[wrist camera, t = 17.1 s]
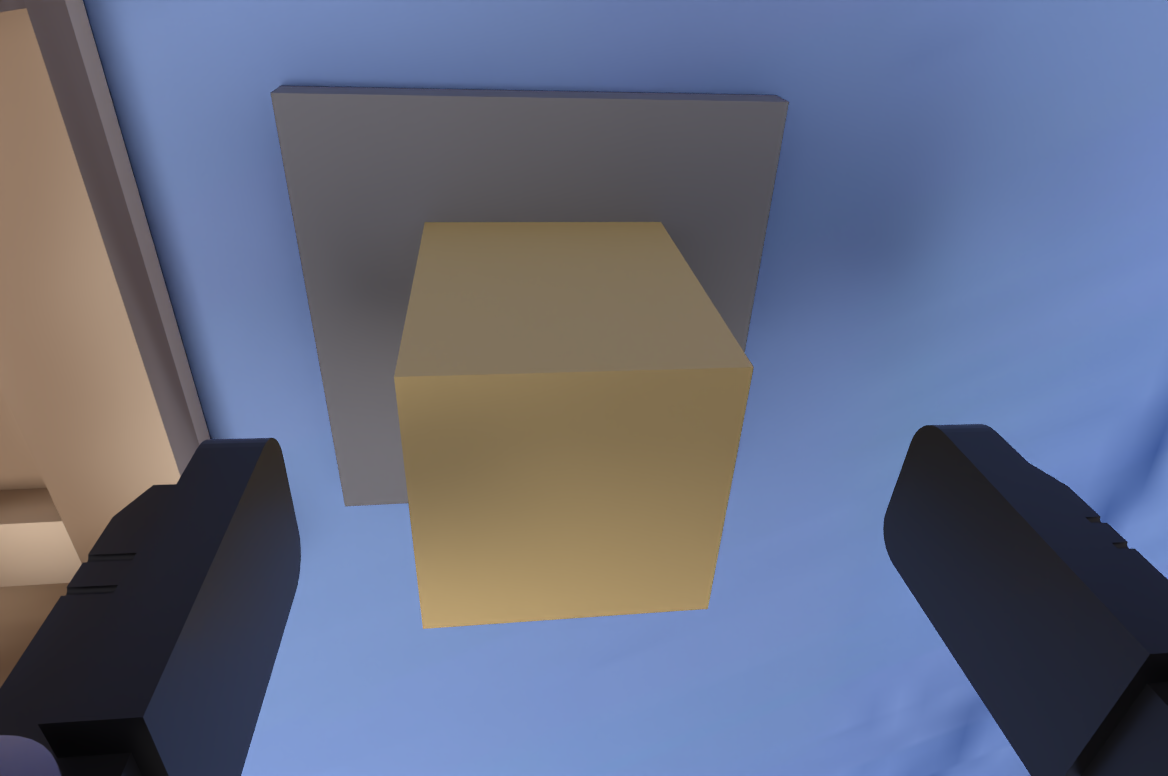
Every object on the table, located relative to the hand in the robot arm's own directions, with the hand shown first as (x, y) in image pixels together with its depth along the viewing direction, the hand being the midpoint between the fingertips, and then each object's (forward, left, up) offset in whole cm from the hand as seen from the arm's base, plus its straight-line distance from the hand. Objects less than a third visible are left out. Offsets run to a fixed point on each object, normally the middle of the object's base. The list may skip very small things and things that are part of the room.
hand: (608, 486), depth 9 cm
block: (+1, 0, -5) cm, 5 cm away
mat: (+1, 0, -5) cm, 5 cm away
